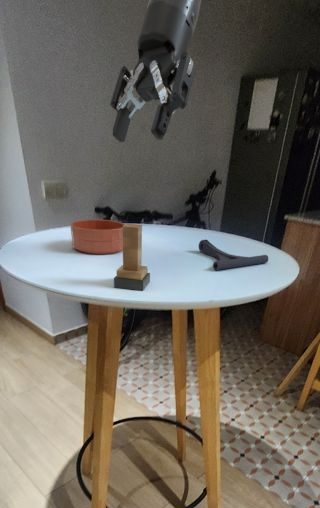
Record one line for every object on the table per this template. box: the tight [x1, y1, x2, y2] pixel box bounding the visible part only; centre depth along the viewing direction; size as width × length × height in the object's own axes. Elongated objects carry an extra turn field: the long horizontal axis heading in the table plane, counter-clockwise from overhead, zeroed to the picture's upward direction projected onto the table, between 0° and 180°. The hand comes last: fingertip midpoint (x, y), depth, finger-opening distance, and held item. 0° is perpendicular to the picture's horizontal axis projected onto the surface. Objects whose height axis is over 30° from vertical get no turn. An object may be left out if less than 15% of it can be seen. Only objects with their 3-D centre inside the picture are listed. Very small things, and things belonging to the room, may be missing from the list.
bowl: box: [69, 219, 126, 255], centre depth 83 cm, size 12×12×5 cm
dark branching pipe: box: [198, 239, 269, 271], centre depth 81 cm, size 14×15×3 cm
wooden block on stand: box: [113, 223, 151, 291], centre depth 62 cm, size 5×5×10 cm
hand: (136, 137), depth 58 cm, fingers open, 8 cm apart
